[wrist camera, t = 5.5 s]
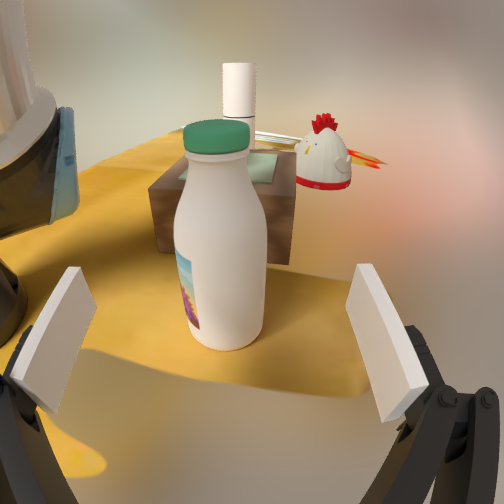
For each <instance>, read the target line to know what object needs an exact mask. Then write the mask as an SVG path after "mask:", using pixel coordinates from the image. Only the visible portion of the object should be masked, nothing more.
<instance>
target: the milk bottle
mask: <svg viewBox="0 0 504 504" xmlns="http://www.w3.org/2000/svg"><path fill="white" fill-rule="evenodd" d="M183 141H184V147H185V154H184V155H185V157H186V158H187V159H188V162H189V167H188V174H187V179H186V183H185V187H184V190H183V193H182V195H181V198H180V201H179V203H178V207H177V210H176V214H175V219H174V244H175V253H176V260H177V267H178V273H179V279H180V285H181V290H182V295H183V301H184V306H185V311H186V315H187V320H188V324H189V328H190V331H191V333H192V335H193V336H194V338H195V339H196V340H197V341H198V342H200V343H201V344H202V345H204V346H206V347H207V348H210V349H213V350H218V351H232V350H237V349H240V348H243V347H245V346H247V345H248V344H250V343H251V342H252V341H253V340H255V338H256V337H257V336H258V335H259V333H260V331H261V329H262V325H263V316H264V301H265V285H266V264H267V225H266V218H265V214H264V210H263V207H262V204H261V202H260V200H259V198H258V196H257V194H256V191H255V189H254V187H253V185H252V182H251V179H250V176H249V173H248V169H247V164H246V157H247V155H249V153H250V150H249V144H250V127H249V125H248V124H247V123H245V122H242V121H238V120H228V119H217V120H216V119H215V120H204V121H199V122H195V123H192V124H189V125H187V126H186V127H185V128H184V131H183Z"/></svg>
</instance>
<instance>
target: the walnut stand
mask: <svg viewBox="0 0 504 504" xmlns="http://www.w3.org/2000/svg"><path fill="white" fill-rule="evenodd" d="M249 150H250V153H249V155H247V157H246V164H247V169H248V173H249V176H250V179H251V182H252V185H253V187H254V189H255V191H256V194H257V196H258V198H259V200H260V202H261V204H262V207H263V210H264V214H265V218H266V225H267V263H273V264H282V265H289V257H290V249H291V248H290V247H291V239H292V230H293V219H294V209H295V199H296V158H297V153H295V152H282V151H269V150H252V149H249ZM188 167H189V162H188V159H187V158H186V157H185V155H184V156H183V157H182V158H181V159H180V160H178V161H177V162H176V163H175V164H174V165H173V166H172V167H171V168H170V169H168V170H167V171H166V172H165V173H164V174H163V175H162V176H161V177H160V178H159V179H158V180H157V181H156V182H155V183H153V184H152V185H151V186H150V187H149V188H148V192H149V198H150V205H151V211H152V217H153V223H154V228H155V234H156V239H157V244H158V250H159V252H163V253H172V254H176V253H175V244H174V219H175V214H176V210H177V207H178V203H179V201H180V198H181V195H182V193H183V190H184V187H185V183H186V179H187V174H188Z"/></svg>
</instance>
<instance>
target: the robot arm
mask: <svg viewBox="0 0 504 504" xmlns="http://www.w3.org/2000/svg"><path fill="white" fill-rule="evenodd" d="M74 133H75V132H74V111H73V109H72V108H70V107H66V108H65V107H61V108H59V109H58V110H57V108H56V103H55V99H54V97H53V94H52V93H51V92H50V91H49V90H47V89H45V88H42V87H39V86H35V82H34V77H33V72H32V67H31V62H30V56H29V49H28V43H27V35H26V27H25V17H24V3H23V0H0V240H3V239H5V238H8V237H11V236H14V235H17V234H20V233H23V232H26V231H29V230H32V229H35V228H38V227H42V226H45V225H51V224H52V223H53V222H54V221H56V220H59V219H62V218H64V217H67V216H70V215H72V214H73V213H74V212H75V211H76V210H77V208H78V206H79V202H80V196H79V186H78V175H77V164H76V150H75V134H74ZM26 306H27V294H26V291H25V289H24V287H23V285H22V283H21V281H20V279H19V278H18V276H17V275H16V274H15V273H14V272H13V271H12V270H11V269H10V268H9V267H8V266H7V265H6V264H5V263H4V262H3V261H2V259H1V258H0V346H2V345H3V344H4V343H5V342H6V341H7V340H8V339H9V338H10V337H11V335H12V334H13V333H14V332H15V330H16V329H17V327H18V326H19V324H20V322H21V320H22V318H23V316H24V313H25V310H26ZM345 308H346V311H347V314H348V316H349V319H350V322H351V325H352V328H353V331H354V334H355V337H356V340H357V343H358V346H359V349H360V352H361V355H362V358H363V361H364V365H365V368H366V371H367V374H368V377H369V381H370V384H371V387H372V391H373V394H374V398H375V401H376V404H377V408H378V412H379V415H380V419H381V422H382V423H383V422H388V421H392V420H396V419H399V418H400V417H401V415H402V414H403V413H405V416H406V420H405V421H404V422H403V423H402V424H401V425H400V426H399V427H398V428H397V431H399V430H400V429H401V430H400V432H399V434H398V436H397V438H396V441H395V442H394V445H393V446H392V448H391V451H390V452H389V455H388V456H387V458H386V460H385V462H384V463H383V465H382V467H381V469H380V471H379V473H378V474H377V476H376V478H375V480H374V481H373V483H372V485H371V486H370V488H369V489H368V491H367V493H366V494H365V496H364V497H363V499H362V500H361V502H360V504H423V502H424V500H425V498H426V496H427V494H428V492H429V490H430V487H431V485H432V483H433V481H434V478H435V476H436V479H435V484H434V488H433V493H432V497H431V501H430V504H493V503H494V497H495V490H496V483H497V473H498V462H499V443H500V414H499V399H498V396H497V394H496V392H495V391H493V390H492V389H491V388H488V387H482V388H481V389H479V390H478V391H477V392H476V393H475V394H464V393H457V391H456V390H455V389H454V388H452V387H451V386H448V385H446V384H445V383H444V381H443V379H442V377H441V374H440V372H439V370H438V368H437V365H436V363H435V361H434V359H433V356H432V354H430V350H429V348H428V346H427V345H426V342H425V340H424V338H423V336H422V334H421V333H420V331H419V330H417V329H416V328H415V326H414V325H412V326H405V327H404V326H403V324H402V322H401V320H400V318H399V316H398V314H397V311H396V309H395V308H394V305H393V303H392V301H391V299H390V297H389V295H388V293H387V292H386V290H385V288H384V286H383V284H382V282H381V280H380V278H379V276H378V275H377V273H376V271H375V269H374V267H373V265H372V264H371V263H370V264H357V265H356V270H355V273H354V277H353V280H352V284H351V287H350V291H349V294H348V298H347V301H346V305H345ZM96 309H97V306H96V304H95V302H94V299H93V297H92V295H91V292H90V290H89V287H88V285H87V282H86V280H85V277H84V275H83V272H82V270H81V267H68V268H67V270H66V271H65V273H64V274H63V276H62V278H61V279H60V281H59V282H58V284H57V286H56V287H55V289H54V291H53V292H52V294H51V296H50V297H49V299H48V301H47V303H46V304H45V306H44V308H43V310H42V311H41V313H40V315H39V317H38V319H37V320H36V322H35V324H34V326H33V325H30V326H29V327H28V328H27V329H26V330H25V331H24V332H23V334H22V336H21V338H20V340H19V343H18V344H17V346H16V348H15V351H14V352H13V354H12V356H11V358H10V360H9V362H8V364H7V367H6V369H5V371H4V373H3V375H1V374H0V504H79V503H78V502H77V500H76V498H75V496H74V494H73V493H72V491H71V489H70V487H69V486H68V483H67V481H66V479H65V477H64V475H63V473H62V471H61V469H60V467H59V464H58V462H57V460H56V458H55V455H54V453H53V451H52V448H51V446H50V443H49V441H48V438H47V436H46V433H45V431H44V428H43V425H42V422H41V419H40V417H39V414H38V412H37V411H36V407H37V405H38V406H39V407H40V408H41V409H42V410H43V411H45V412H48V413H51V414H55V415H57V413H58V410H59V407H60V404H61V400H62V397H63V394H64V391H65V388H66V385H67V382H68V379H69V377H70V374H71V371H72V368H73V365H74V362H75V360H76V357H77V355H78V352H79V350H80V347H81V344H82V342H83V339H84V337H85V334H86V332H87V330H88V327H89V325H90V322H91V320H92V318H93V315H94V313H95V311H96Z"/></svg>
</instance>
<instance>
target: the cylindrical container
mask: <svg viewBox="0 0 504 504" xmlns="http://www.w3.org/2000/svg"><path fill="white" fill-rule="evenodd" d="M255 89H256V63H223V119H228V120H238V121H242V122H245V123H247V124H248V125H249V127H250V144H249V149H252V150H254V146H255Z"/></svg>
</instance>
